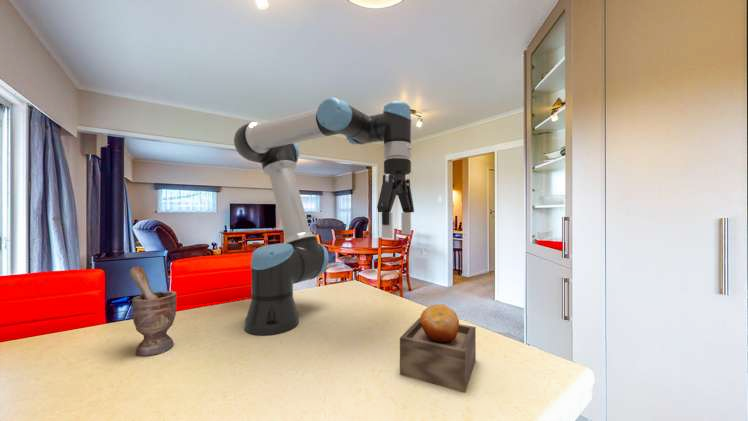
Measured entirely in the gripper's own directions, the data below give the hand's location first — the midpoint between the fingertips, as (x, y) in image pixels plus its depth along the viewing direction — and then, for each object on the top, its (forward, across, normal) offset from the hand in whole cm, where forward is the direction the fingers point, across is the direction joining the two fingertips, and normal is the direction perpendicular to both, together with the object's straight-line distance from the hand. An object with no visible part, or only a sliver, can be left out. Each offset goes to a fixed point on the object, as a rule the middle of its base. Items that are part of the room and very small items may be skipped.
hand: (397, 236), depth 80 cm
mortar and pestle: (+27, -37, +50) cm, 68 cm away
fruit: (+21, -12, -15) cm, 29 cm away
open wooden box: (+27, -12, -15) cm, 33 cm away
